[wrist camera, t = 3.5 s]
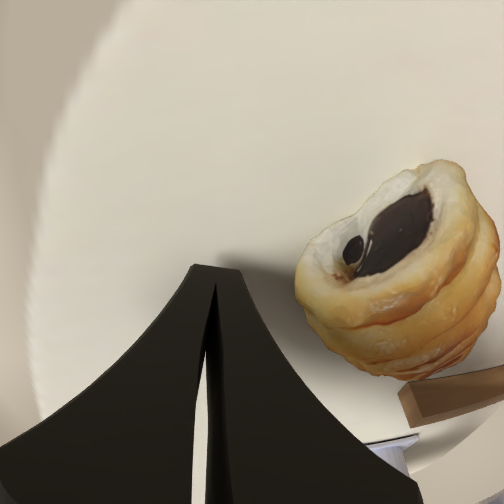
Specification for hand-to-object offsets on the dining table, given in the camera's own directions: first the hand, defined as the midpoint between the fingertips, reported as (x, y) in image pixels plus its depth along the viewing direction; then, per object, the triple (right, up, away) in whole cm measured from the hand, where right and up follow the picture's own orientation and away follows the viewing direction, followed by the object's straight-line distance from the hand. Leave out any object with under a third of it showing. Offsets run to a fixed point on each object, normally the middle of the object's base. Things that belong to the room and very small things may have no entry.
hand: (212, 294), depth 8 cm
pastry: (+7, +1, +2) cm, 7 cm away
